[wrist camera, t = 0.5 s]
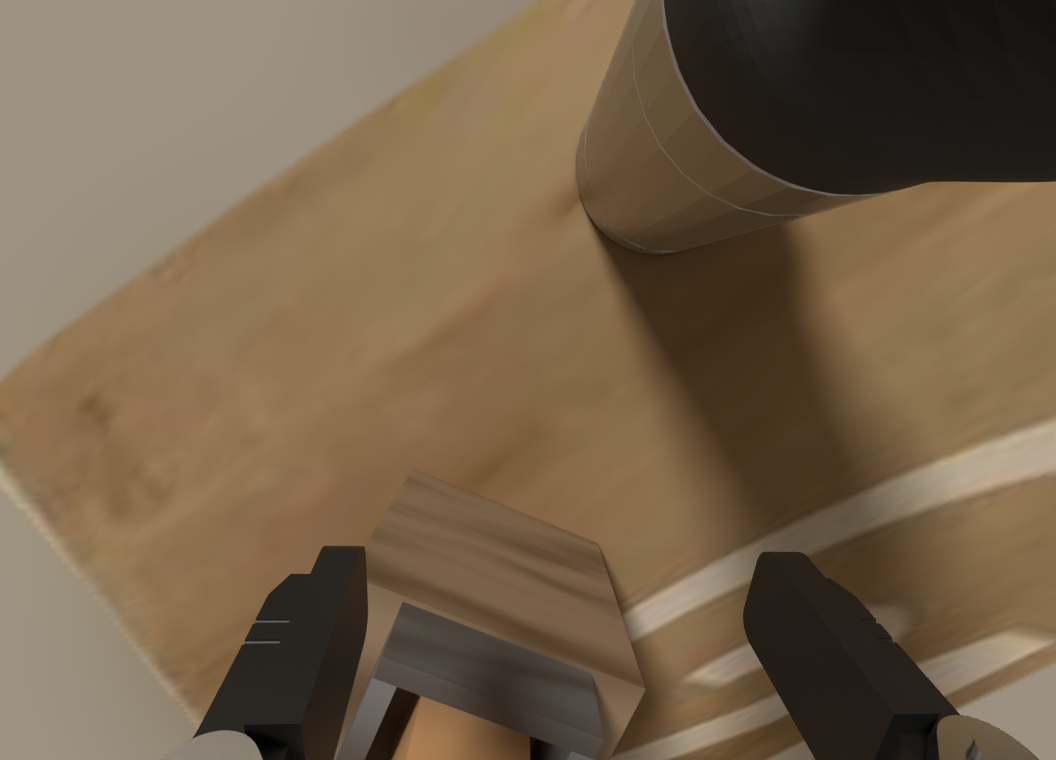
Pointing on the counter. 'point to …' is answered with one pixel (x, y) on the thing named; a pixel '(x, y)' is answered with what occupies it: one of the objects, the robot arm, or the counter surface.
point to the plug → (454, 736)
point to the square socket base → (489, 628)
